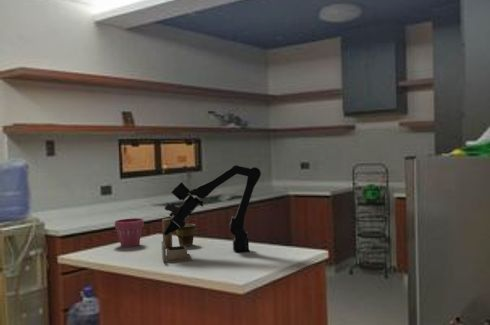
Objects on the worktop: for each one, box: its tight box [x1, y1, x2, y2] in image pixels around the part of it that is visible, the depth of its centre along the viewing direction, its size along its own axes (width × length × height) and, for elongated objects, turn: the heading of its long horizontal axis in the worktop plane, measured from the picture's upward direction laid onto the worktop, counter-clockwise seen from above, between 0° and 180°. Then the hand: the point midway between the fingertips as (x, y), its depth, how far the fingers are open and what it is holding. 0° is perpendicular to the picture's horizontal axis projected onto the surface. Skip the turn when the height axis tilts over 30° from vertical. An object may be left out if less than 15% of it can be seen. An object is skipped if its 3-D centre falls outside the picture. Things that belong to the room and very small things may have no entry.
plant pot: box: [114, 217, 145, 248], centre depth 243 cm, size 14×14×13 cm
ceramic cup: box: [173, 223, 196, 247], centre depth 238 cm, size 13×10×10 cm
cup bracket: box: [161, 240, 193, 264], centre depth 208 cm, size 12×12×7 cm
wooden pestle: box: [161, 218, 173, 247], centre depth 217 cm, size 4×4×13 cm
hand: (164, 233), depth 217 cm, fingers closed on wooden pestle, 4 cm apart
